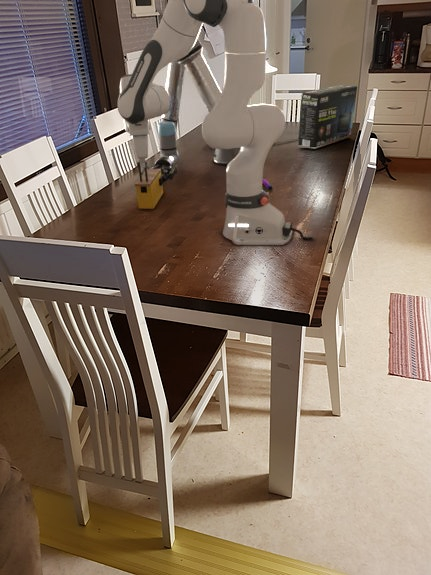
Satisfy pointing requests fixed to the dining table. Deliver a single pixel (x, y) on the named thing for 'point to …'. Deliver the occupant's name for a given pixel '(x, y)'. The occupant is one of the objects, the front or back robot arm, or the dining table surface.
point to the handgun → (267, 184)
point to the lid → (147, 176)
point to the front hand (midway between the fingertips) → (142, 164)
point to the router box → (326, 115)
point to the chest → (149, 194)
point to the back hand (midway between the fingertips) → (152, 182)
